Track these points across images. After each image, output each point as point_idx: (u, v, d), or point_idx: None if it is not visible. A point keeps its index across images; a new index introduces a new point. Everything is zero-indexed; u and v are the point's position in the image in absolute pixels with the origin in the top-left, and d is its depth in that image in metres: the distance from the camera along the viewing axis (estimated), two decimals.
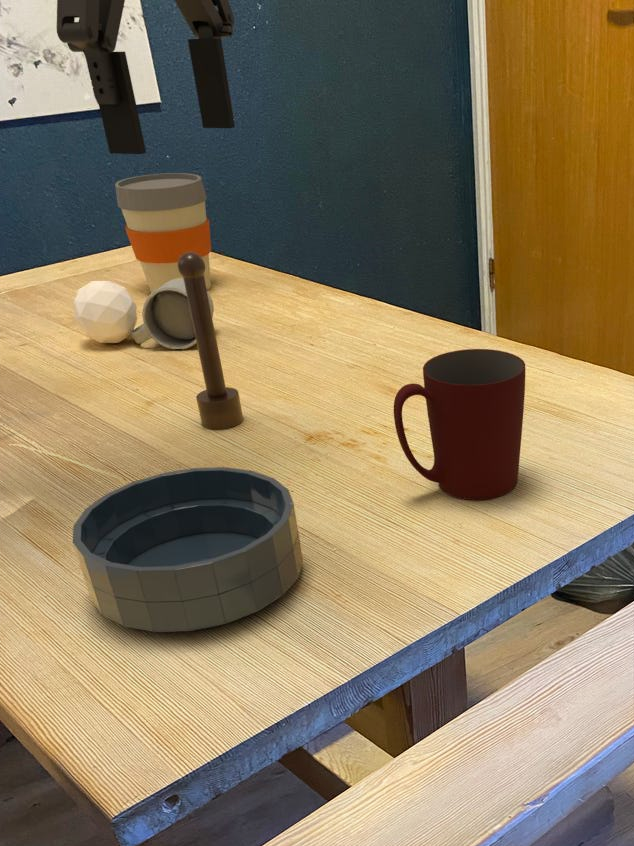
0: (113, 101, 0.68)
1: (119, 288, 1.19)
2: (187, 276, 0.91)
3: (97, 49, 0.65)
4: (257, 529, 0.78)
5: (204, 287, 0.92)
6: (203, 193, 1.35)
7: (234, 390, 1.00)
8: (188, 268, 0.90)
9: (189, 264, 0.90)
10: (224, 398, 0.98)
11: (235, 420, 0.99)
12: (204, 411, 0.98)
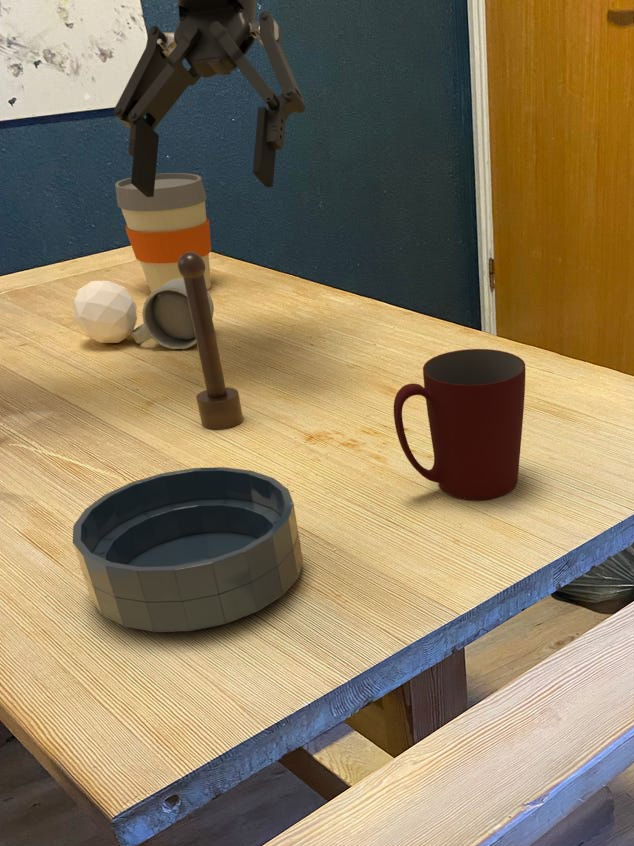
0: (281, 147, 0.92)
1: (119, 288, 1.19)
2: (187, 276, 0.91)
3: (287, 115, 0.92)
4: (257, 529, 0.78)
5: (204, 287, 0.92)
6: (203, 193, 1.35)
7: (234, 390, 1.00)
8: (188, 268, 0.90)
9: (189, 264, 0.90)
10: (224, 398, 0.98)
11: (235, 420, 0.99)
12: (204, 411, 0.98)
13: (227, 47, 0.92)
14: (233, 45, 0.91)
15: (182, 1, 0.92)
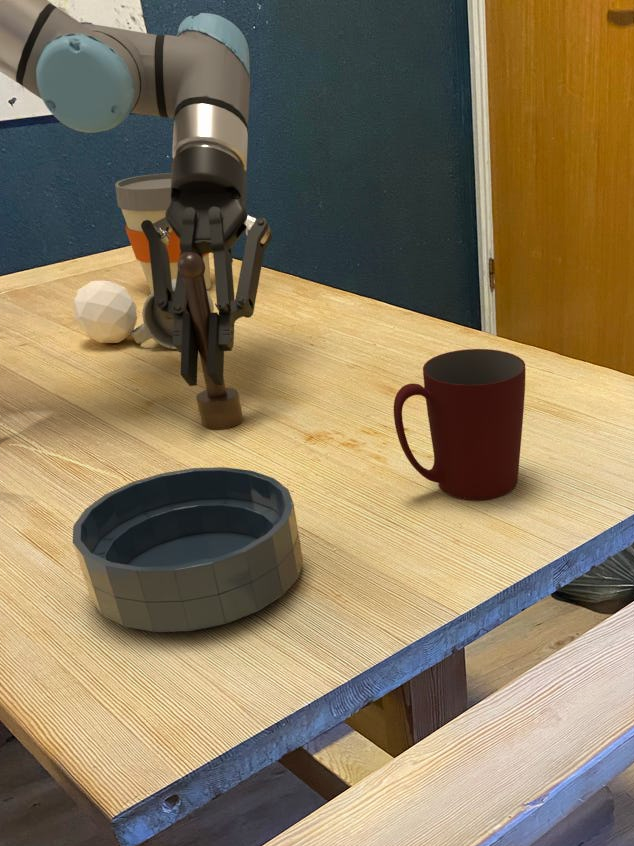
0: (231, 349, 0.95)
1: (119, 288, 1.19)
2: (187, 276, 0.91)
3: (236, 319, 0.95)
4: (257, 529, 0.78)
5: (204, 287, 0.92)
6: None
7: (234, 390, 1.00)
8: (188, 268, 0.90)
9: (189, 264, 0.90)
10: (224, 398, 0.98)
11: (235, 420, 0.99)
12: (204, 411, 0.98)
13: (214, 235, 0.94)
14: (220, 238, 0.94)
15: (178, 184, 0.94)
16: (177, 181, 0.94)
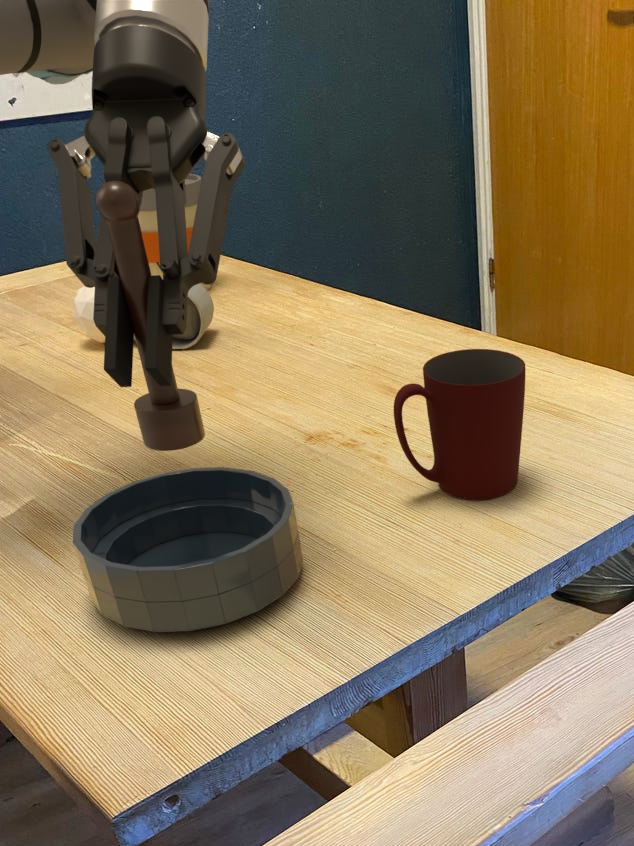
0: (183, 331, 0.63)
1: None
2: (111, 217, 0.59)
3: (190, 286, 0.64)
4: (257, 529, 0.78)
5: (139, 236, 0.60)
6: None
7: (191, 393, 0.68)
8: (112, 205, 0.58)
9: (113, 199, 0.58)
10: (176, 405, 0.66)
11: (192, 437, 0.67)
12: (145, 425, 0.66)
13: (155, 160, 0.63)
14: (164, 163, 0.63)
15: (101, 83, 0.63)
16: (100, 78, 0.62)
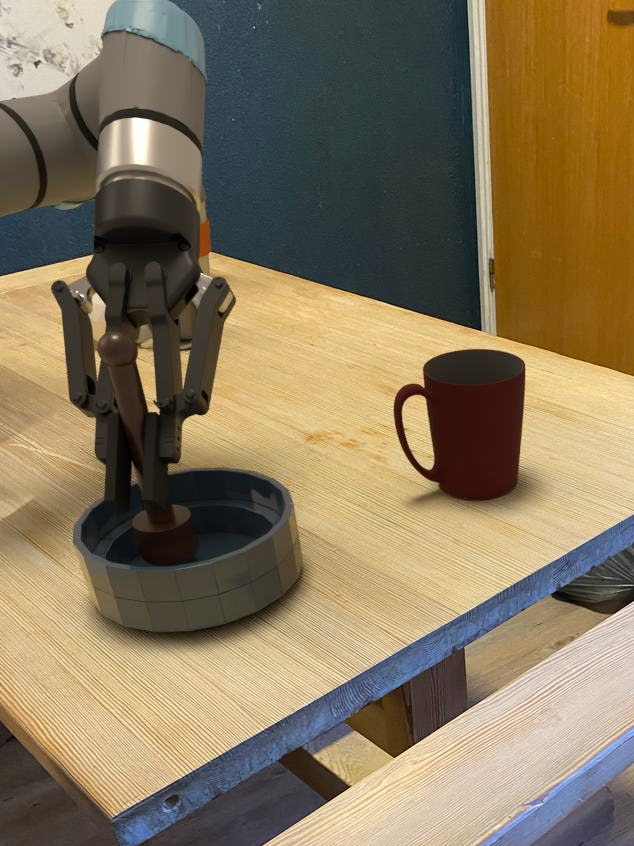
0: (178, 461, 0.68)
1: None
2: (111, 364, 0.64)
3: (185, 418, 0.68)
4: (257, 529, 0.78)
5: (137, 378, 0.65)
6: (203, 193, 1.35)
7: (185, 510, 0.73)
8: (112, 354, 0.63)
9: (113, 349, 0.63)
10: (171, 524, 0.71)
11: (186, 552, 0.72)
12: (142, 542, 0.71)
13: (152, 303, 0.67)
14: (161, 306, 0.67)
15: (102, 231, 0.67)
16: (101, 227, 0.67)
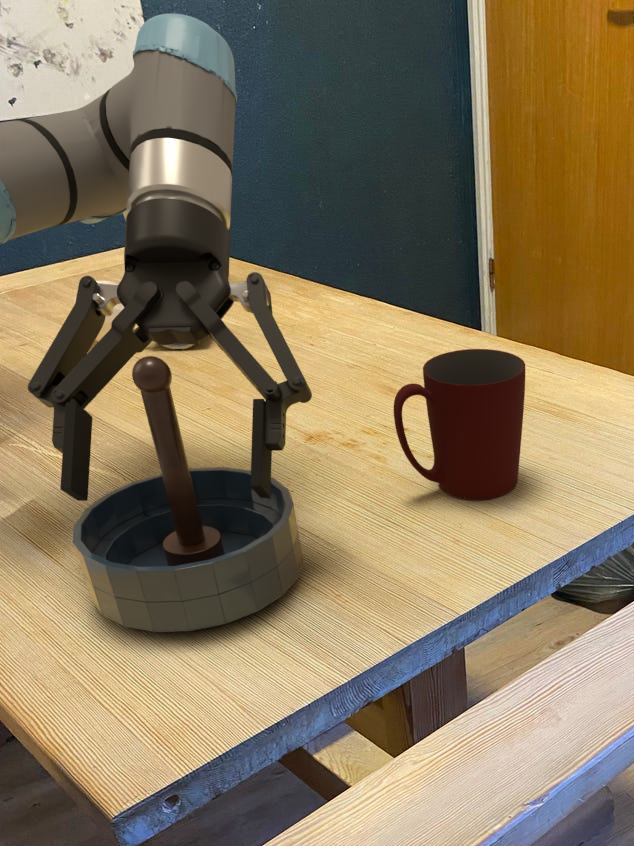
0: (282, 448, 0.69)
1: None
2: (146, 390, 0.64)
3: (289, 405, 0.69)
4: (257, 529, 0.78)
5: (171, 403, 0.65)
6: None
7: (215, 532, 0.73)
8: (147, 380, 0.64)
9: (148, 375, 0.63)
10: (201, 547, 0.71)
11: None
12: (173, 564, 0.71)
13: (203, 316, 0.68)
14: (212, 314, 0.68)
15: (134, 251, 0.68)
16: (132, 246, 0.67)
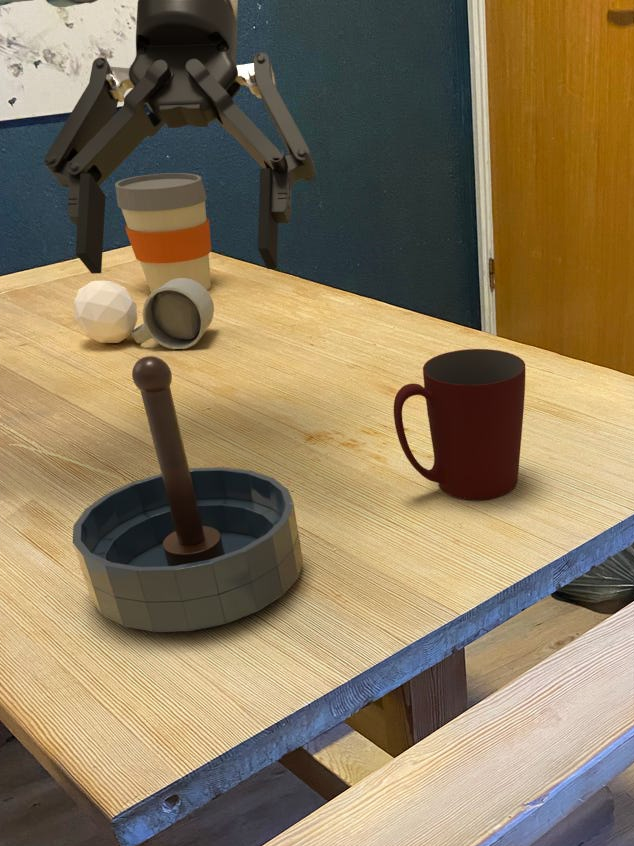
0: (288, 220, 0.71)
1: (119, 288, 1.19)
2: (146, 390, 0.64)
3: (294, 181, 0.72)
4: (257, 529, 0.78)
5: (171, 403, 0.65)
6: (203, 193, 1.35)
7: (215, 532, 0.73)
8: (147, 380, 0.64)
9: (148, 375, 0.63)
10: (201, 547, 0.71)
11: None
12: (173, 564, 0.71)
13: (212, 91, 0.71)
14: (220, 90, 0.71)
15: (145, 29, 0.70)
16: (144, 24, 0.70)
